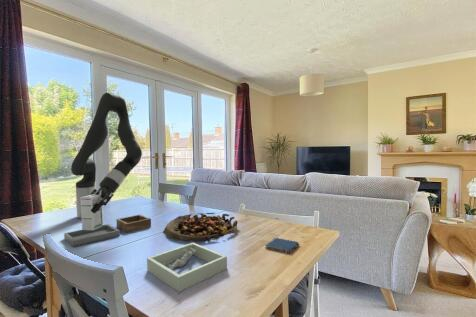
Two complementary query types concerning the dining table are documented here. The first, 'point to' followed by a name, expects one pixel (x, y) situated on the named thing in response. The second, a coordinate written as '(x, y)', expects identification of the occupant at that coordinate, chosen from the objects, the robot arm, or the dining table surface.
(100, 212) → the syrup box
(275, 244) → the woven mat
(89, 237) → the charcoal tray
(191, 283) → the sage display box
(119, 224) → the walnut collar
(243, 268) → the dining table surface
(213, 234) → the food dish
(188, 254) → the soldier figure
